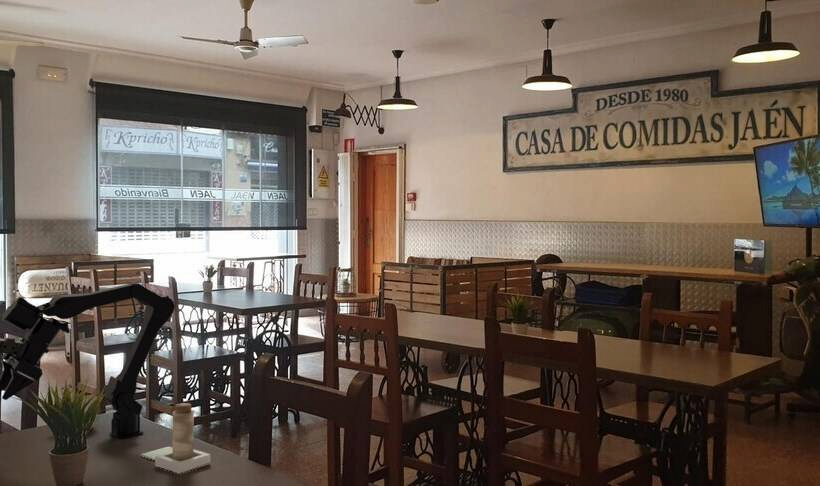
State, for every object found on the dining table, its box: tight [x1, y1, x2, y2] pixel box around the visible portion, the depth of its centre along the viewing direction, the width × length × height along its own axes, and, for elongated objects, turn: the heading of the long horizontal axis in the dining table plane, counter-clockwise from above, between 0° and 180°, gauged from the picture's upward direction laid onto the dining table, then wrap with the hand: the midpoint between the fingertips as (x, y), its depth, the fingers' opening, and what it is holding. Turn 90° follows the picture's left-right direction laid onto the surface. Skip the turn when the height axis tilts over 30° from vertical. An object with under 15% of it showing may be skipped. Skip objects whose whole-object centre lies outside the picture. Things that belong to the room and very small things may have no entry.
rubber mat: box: [140, 446, 172, 461], centre depth 181 cm, size 8×8×1 cm
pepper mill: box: [171, 402, 195, 461], centre depth 174 cm, size 5×5×15 cm
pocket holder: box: [154, 448, 211, 473], centre depth 174 cm, size 9×9×2 cm
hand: (0, 395), depth 179 cm, fingers open, 9 cm apart
